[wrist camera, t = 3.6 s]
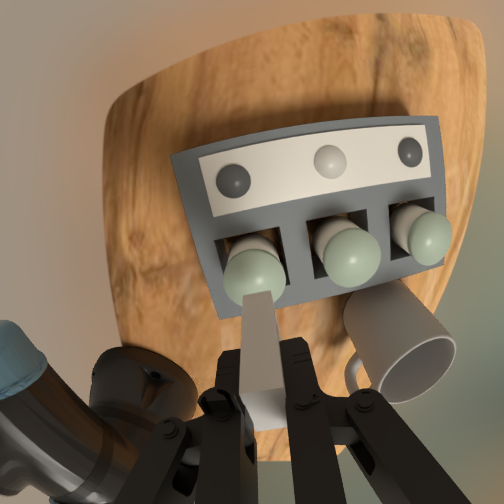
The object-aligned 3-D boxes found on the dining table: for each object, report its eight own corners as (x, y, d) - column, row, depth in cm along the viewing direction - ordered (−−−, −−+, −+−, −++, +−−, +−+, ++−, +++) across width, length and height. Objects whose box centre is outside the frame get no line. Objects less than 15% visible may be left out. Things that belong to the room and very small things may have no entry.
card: (214, 216, 20) (213, 217, 19) (199, 157, 18) (197, 158, 18) (429, 176, 19) (432, 177, 18) (422, 125, 17) (425, 124, 17)
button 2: (234, 284, 23) (232, 313, 19) (221, 239, 22) (215, 260, 18) (283, 274, 23) (290, 301, 19) (273, 227, 21) (279, 246, 17)
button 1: (388, 250, 22) (411, 271, 18) (385, 205, 21) (412, 218, 17) (424, 241, 22) (450, 259, 18) (423, 198, 21) (452, 210, 17)
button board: (223, 293, 27) (219, 319, 23) (183, 153, 22) (169, 154, 18) (421, 248, 26) (443, 264, 22) (411, 118, 21) (437, 115, 17)
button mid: (315, 268, 23) (328, 293, 19) (308, 220, 21) (322, 237, 17) (360, 257, 22) (381, 279, 18) (356, 210, 21) (379, 225, 17)
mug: (372, 262, 26) (428, 322, 16) (419, 292, 28) (470, 347, 18) (310, 345, 30) (330, 421, 20) (360, 363, 32) (388, 428, 22)
